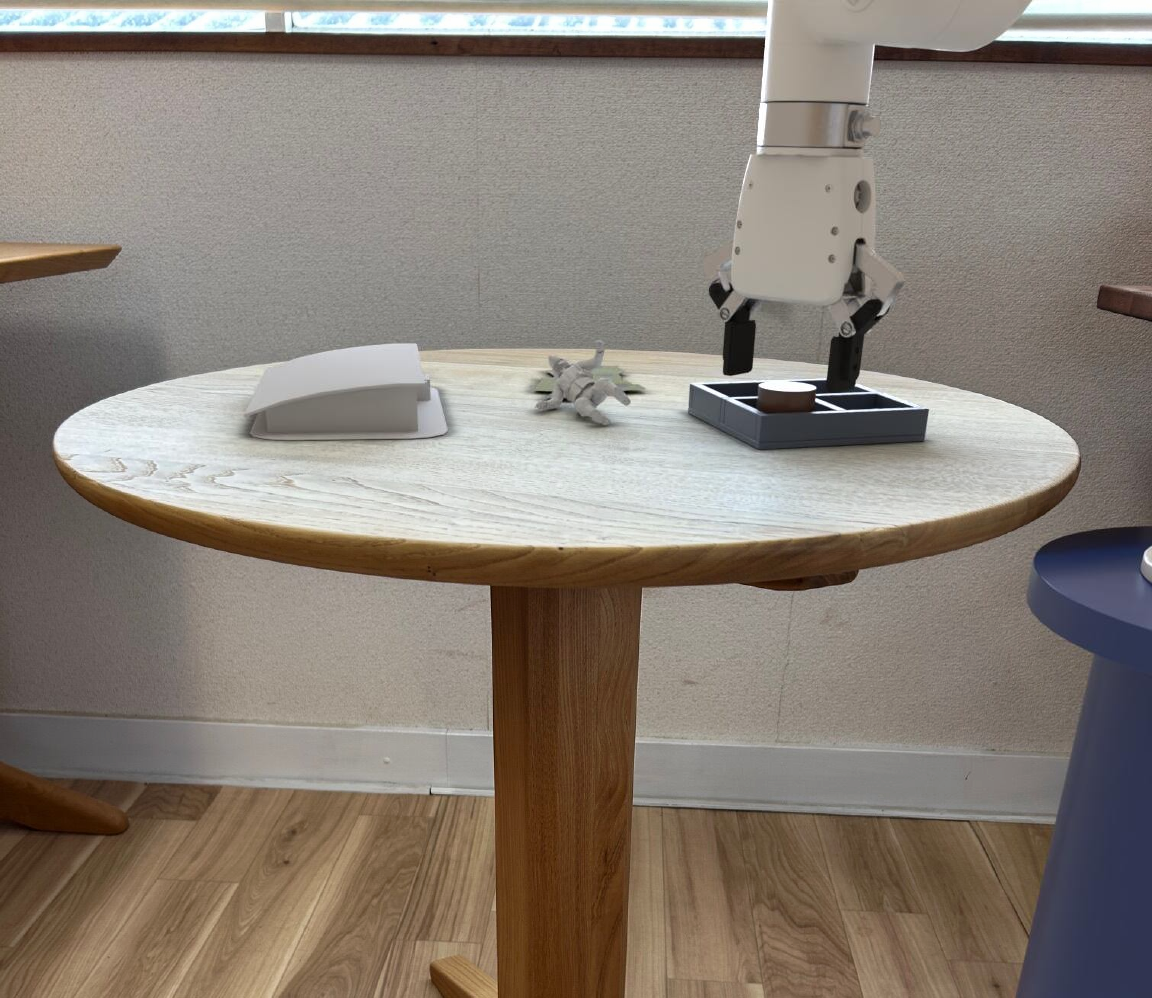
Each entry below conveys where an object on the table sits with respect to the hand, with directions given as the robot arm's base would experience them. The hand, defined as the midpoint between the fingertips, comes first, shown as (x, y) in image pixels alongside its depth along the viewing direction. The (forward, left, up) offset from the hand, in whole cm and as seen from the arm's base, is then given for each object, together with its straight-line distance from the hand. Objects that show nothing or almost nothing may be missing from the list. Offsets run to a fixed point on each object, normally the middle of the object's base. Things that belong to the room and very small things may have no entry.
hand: (787, 381), depth 95 cm
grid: (+3, -3, -4) cm, 6 cm away
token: (0, 0, -4) cm, 4 cm away
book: (+17, +32, -4) cm, 36 cm away
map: (+25, +8, -4) cm, 27 cm away
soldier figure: (+12, +13, -4) cm, 18 cm away
